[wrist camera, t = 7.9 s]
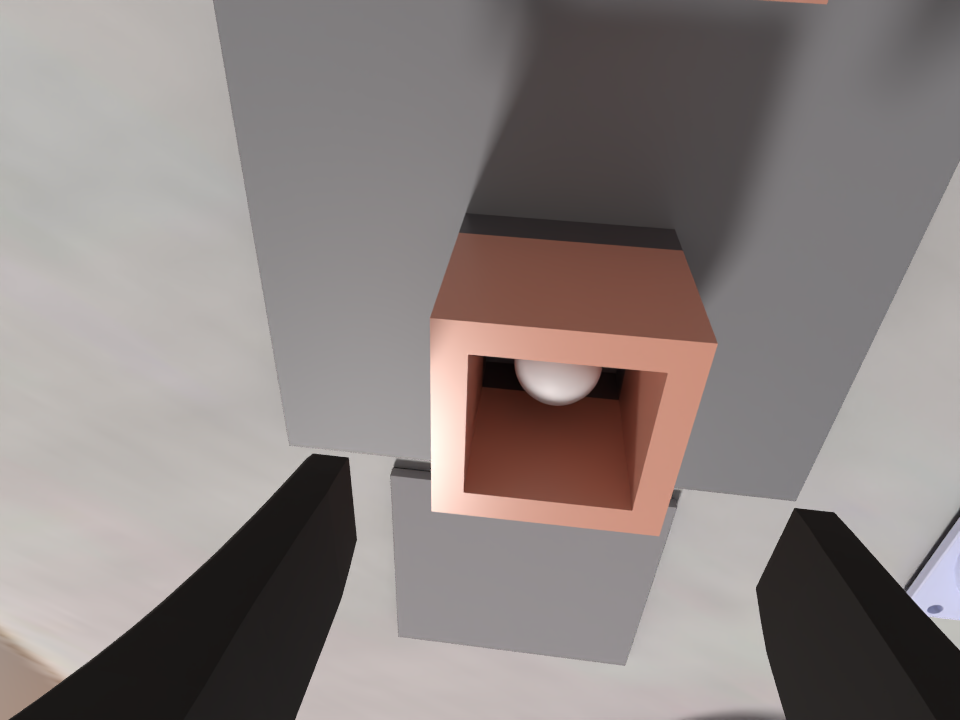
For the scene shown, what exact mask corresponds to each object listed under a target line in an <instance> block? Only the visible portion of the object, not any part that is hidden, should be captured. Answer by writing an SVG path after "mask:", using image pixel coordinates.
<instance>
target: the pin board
mask: <svg viewBox="0 0 960 720" xmlns="http://www.w3.org/2000/svg"><path fill="white" fill-rule="evenodd" d="M213 3H214V9H215V15H216V21H217V26H218V32H219V38H220V44H221V50H222V56H223V61H224V67H225V73H226V79H227V85H228V91H229V96H230V102H231V108H232V114H233V120H234V126H235V132H236V137H237V143H238V149H239V155H240V161H241V167H242V172H243V178H244V184H245V190H246V196H247V202H248V207H249V213H250V219H251V225H252V231H253V237H254V242H255V248H256V254H257V260H258V266H259V272H260V277H261V283H262V289H263V295H264V301H265V307H266V313H267V318H268V324H269V330H270V336H271V342H272V348H273V353H274V359H275V365H276V371H277V377H278V383H279V388H280V394H281V400H282V406H283V412H284V418H285V423H286V429H287V435H288V441H289V446H298V447H307V448H316V449H325V450H334V451H344V452H353V453H362V454H371V455H380V456H389V457H398V458H407V459H416V460H425V461H431V393H430V316H431V313H432V310H433V307H434V304H435V302H436V299H437V296H438V293H439V290H440V287H441V284H442V281H443V278H444V275H445V272H446V269H447V266H448V263H449V260H450V257H451V254H452V251H453V248H454V246H455V243H456V240H457V237H458V234H459V231H460V228H461V225H462V222H463V219H464V216H465V213H471V214H484V215H496V216H509V217H522V218H535V219H548V220H561V221H574V222H587V223H600V224H612V225H625V226H638V227H651V228H664V229H675V231H676V234H677V236H678V239H679V242H680V244H681V247H682V250H683V252H684V255H685V258H686V260H687V263H688V266H689V268H690V271H691V274H692V276H693V279H694V281H695V284H696V287H697V289H698V292H699V295H700V297H701V300H702V303H703V305H704V308H705V311H706V313H707V316H708V319H709V321H710V324H711V327H712V329H713V332H714V335H715V337H716V340H717V343H718V345H717V348H716V352H715V355H714V358H713V362H712V365H711V368H710V371H709V375H708V378H707V381H706V385H705V388H704V391H703V394H702V398H701V401H700V404H699V408H698V411H697V414H696V417H695V421H694V424H693V427H692V430H691V434H690V437H689V440H688V444H687V447H686V450H685V453H684V457H683V460H682V463H681V467H680V470H679V473H678V476H677V480H676V483H675V486H674V488H680V489H689V490H698V491H707V492H716V493H725V494H734V495H743V496H752V497H762V498H771V499H780V500H789V501H796V500H797V497H798V495H799V493H800V491H801V489H802V487H803V485H804V483H805V481H806V479H807V477H808V475H809V473H810V470H811V468H812V466H813V464H814V462H815V460H816V458H817V456H818V454H819V452H820V450H821V448H822V446H823V443H824V441H825V439H826V437H827V435H828V433H829V431H830V429H831V427H832V425H833V423H834V421H835V419H836V416H837V414H838V412H839V410H840V408H841V406H842V404H843V402H844V400H845V398H846V396H847V394H848V392H849V389H850V387H851V385H852V383H853V381H854V379H855V377H856V375H857V373H858V371H859V369H860V367H861V365H862V362H863V360H864V358H865V356H866V354H867V352H868V350H869V348H870V346H871V344H872V342H873V340H874V338H875V335H876V333H877V331H878V329H879V327H880V325H881V323H882V321H883V319H884V317H885V315H886V313H887V311H888V308H889V306H890V304H891V302H892V300H893V298H894V296H895V294H896V292H897V290H898V288H899V286H900V284H901V281H902V279H903V277H904V275H905V273H906V271H907V269H908V267H909V265H910V263H911V261H912V259H913V257H914V254H915V252H916V250H917V248H918V246H919V244H920V242H921V240H922V238H923V236H924V234H925V232H926V230H927V227H928V225H929V223H930V221H931V219H932V217H933V215H934V213H935V211H936V209H937V207H938V205H939V203H940V200H941V198H942V196H943V194H944V192H945V190H946V188H947V186H948V184H949V182H950V180H951V178H952V176H953V173H954V171H955V169H956V167H957V165H958V163H959V161H960V0H828V3H827V4H813V3H796V2H780V1H764V0H213ZM486 361H488V362H499V363H509V364H514V366H515V372H516V376H517V378H518V380H519V383H520V384H521V386H522V387H523V389H524V390H525V391H526V392H527V393H528V394H529V395H530V396H531V397H533V398H534V399H536V400H538V401H540V402H542V403H544V404H548V405H553V406H563V405H569V404H572V403H575V402H577V401H579V400H581V399H583V398H584V397H586V396H587V395H588V394H589V393H590V392H591V391H592V390H593V389H594V387H595V386H596V384H597V382H598V380H599V378H600V375H601V372H606V373H616V370H617V368H609V367H598V366H588V365H577V364H566V363H555V362H545V361H534V360H523V359H512V358H501V357H491V356H487V359H486Z"/></svg>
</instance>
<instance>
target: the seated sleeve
mask: <svg viewBox="0 0 960 720" xmlns="http://www.w3.org/2000/svg"><path fill="white" fill-rule="evenodd" d="M764 1H780V2H796V3H813V4H827V3H828V0H764Z"/></svg>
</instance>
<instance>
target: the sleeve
mask: <svg viewBox="0 0 960 720" xmlns="http://www.w3.org/2000/svg"><path fill="white" fill-rule="evenodd" d="M717 345H718V343H717V340H716V337H715V335H714V332H713V329H712V327H711V324H710V321H709V319H708V316H707V313H706V311H705V308H704V305H703V303H702V300H701V297H700V295H699V292H698V289H697V287H696V284H695V281H694V279H693V276H692V274H691V271H690V268H689V266H688V263H687V260H686V258H685V255H684V252H683V250H682V247H681V244H680V242H679V239H678V236H677V234H676V231H675V229H664V228H651V227H638V226H625V225H612V224H600V223H587V222H574V221H561V220H548V219H535V218H522V217H509V216H496V215H484V214H471V213H465V216H464V219H463V222H462V225H461V228H460V231H459V234H458V237H457V240H456V243H455V246H454V248H453V251H452V254H451V257H450V260H449V263H448V266H447V269H446V272H445V275H444V278H443V281H442V284H441V287H440V290H439V293H438V296H437V299H436V302H435V304H434V307H433V310H432V313H431V316H430V393H431V511H433V512H442V513H451V514H460V515H469V516H478V517H487V518H496V519H505V520H515V521H524V522H533V523H542V524H551V525H560V526H569V527H578V528H587V529H597V530H606V531H615V532H624V533H633V534H642V535H651V536H660V532H661V529H662V526H663V522H664V519H665V516H666V513H667V509H668V506H669V503H670V499H671V496H672V493H673V490H674V486H675V483H676V480H677V476H678V473H679V470H680V467H681V463H682V460H683V457H684V453H685V450H686V447H687V444H688V440H689V437H690V434H691V430H692V427H693V424H694V421H695V417H696V414H697V411H698V408H699V404H700V401H701V398H702V394H703V391H704V388H705V385H706V381H707V378H708V375H709V371H710V368H711V365H712V362H713V358H714V355H715V352H716V348H717ZM487 356H491V357H501V358H512V359H523V360H534V361H545V362H555V363H566V364H577V365H588V366H598V367H609V368H617V370H616V373H606V372H601V375H600V378H599V380H598V382H597V384H596V386H595V387H594V389H593V390H592V391H591V392H590V393H589V394H588V395H587V396H586V397H584V398H583V399H581V400H579V401H577V402H575V403H572V404H569V405H563V406H553V405H548V404H544V403H542V402H540V401H538V400H536V399H534V398H533V397H531V396H530V395H529V394H528V393H527V392H526V391H525V390H524V389H523V387H522V386H521V384H520V383H519V380H518V378H517V376H516V372H515V366H514V364H509V363H499V362H488V361H486V359H487Z"/></svg>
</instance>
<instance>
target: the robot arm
mask: <svg viewBox="0 0 960 720" xmlns="http://www.w3.org/2000/svg"><path fill="white" fill-rule="evenodd" d="M356 541H357V536H356V526H355V516H354V506H353V496H352V486H351V476H350V466H349V458H347V457H338V456H329V455H321V454H312V455H311V456H309V457H308V458H307V459H306V460H305V461H304V462H303V463H302V464H301V465H300V466H299V467H298V468H297V470H296V471H295V472H294V473H293V474H292V475H291V476H290V477H289V478H288V479H287V480H286V482H285V483H284V484H283V485H282V486H281V487H280V488H279V489H278V490H277V491H276V492H275V493H274V494H273V496H272V497H271V498H270V499H269V500H268V501H267V502H266V503H265V504H264V505H263V506H262V507H261V508H260V509H259V510H258V511H257V512H256V513H255V514H254V515H253V516H252V517H251V518H250V519H249V520H248V521H247V522H246V523H245V524H244V525H243V526H242V527H241V528H240V529H239V530H238V531H237V532H236V533H235V534H234V535H233V536H232V537H231V538H230V539H229V540H228V541H227V542H226V543H225V544H224V545H223V546H222V547H221V548H220V549H219V550H218V551H217V552H216V553H215V554H214V555H213V556H212V557H211V558H210V559H209V560H208V561H207V562H206V563H205V564H203V565H202V566H201V567H200V568H199V569H198V570H197V571H196V572H195V573H194V574H192V575H191V576H190V577H189V578H188V579H187V580H186V581H185V582H184V583H183V584H181V585H180V586H179V587H178V588H177V589H176V590H175V591H174V592H173V593H172V594H170V595H169V596H168V597H167V598H166V599H165V600H164V601H163V602H161V603H160V604H159V605H158V606H157V607H156V608H154V609H153V610H152V611H151V612H150V613H149V614H147V615H146V616H145V617H144V618H143V619H142V620H140V621H139V622H138V623H137V624H135V625H134V626H133V627H132V628H131V629H129V630H128V631H127V632H126V633H125V634H123V635H122V636H121V637H119V638H118V639H117V640H116V641H114V642H113V643H112V644H111V645H109V646H108V647H107V648H106V649H104V650H103V651H102V652H101V653H99V654H98V655H97V656H95V657H94V658H93V659H92V660H90V661H89V662H88V663H86V664H85V665H84V666H82V667H81V668H79V669H78V670H77V671H75V672H74V673H73V674H71V675H70V676H69V677H67V678H66V679H65V680H63V681H62V682H61V683H59V684H58V685H57V686H55V687H54V688H53V689H51V690H50V691H49V692H47V693H46V694H44V695H43V696H42V697H40V698H39V699H38V700H36V701H35V702H33V703H32V704H31V705H29V706H28V707H26V708H25V709H23V710H22V711H21V712H19V713H18V714H16V715H15V716H13V717H12V718H10V719H9V720H295V718H296V716H297V713H298V710H299V708H300V705H301V703H302V700H303V697H304V695H305V692H306V690H307V687H308V685H309V682H310V679H311V677H312V674H313V672H314V669H315V666H316V664H317V661H318V659H319V656H320V654H321V651H322V648H323V646H324V643H325V641H326V638H327V635H328V633H329V630H330V627H331V625H332V622H333V619H334V617H335V614H336V612H337V609H338V606H339V604H340V601H341V598H342V595H343V591H344V587H345V584H346V580H347V576H348V572H349V569H350V565H351V561H352V557H353V553H354V549H355V545H356ZM756 592H757V598H758V605H759V612H760V618H761V624H762V630H763V635H764V641H765V646H766V652H767V655H768V659H769V662H770V666H771V670H772V673H773V676H774V680H775V683H776V687H777V690H778V693H779V697H780V700H781V704H782V707H783V710H784V714H785V717H786V720H960V650H959V649H958V648H957V647H956V646H955V645H954V644H953V643H952V642H951V641H950V640H949V639H948V637H947V636H946V635H945V634H944V633H943V632H942V631H941V630H940V629H939V628H938V627H937V626H936V625H935V623H934V622H933V621H932V620H931V619H930V618H929V617H937V618H945V619H953V620H960V517H959V519H958V520H957V522H956V523H955V524H954V526H953V527H952V529H951V530H950V531H949V533H948V534H947V536H946V537H945V538H944V540H943V541H942V543H941V544H940V545H939V547H938V548H937V550H936V551H935V553H934V554H933V555H932V557H931V558H930V560H929V561H928V562H927V564H926V565H925V567H924V568H923V569H922V571H921V572H920V574H919V575H918V576H917V578H916V579H915V581H914V582H913V583H912V585H911V586H910V588H909V589H908V590H907V592H905V591H904V589H903V588H902V587H901V586H900V585H899V584H898V583H897V582H896V581H895V579H894V578H893V577H892V576H891V575H890V574H889V573H888V572H887V570H886V569H885V568H884V567H883V566H882V565H881V564H880V563H879V561H878V560H877V559H876V558H875V557H874V556H873V555H872V554H871V552H870V551H869V550H868V549H867V548H866V547H865V546H864V545H863V543H862V542H861V541H860V540H859V539H858V538H857V537H856V536H855V535H854V533H853V532H852V531H851V530H850V529H849V528H848V527H847V526H846V525H845V524H844V522H843V521H842V520H841V519H840V518H839V517H838V516H837V515H836V514H835V513H834V512H825V511H816V510H807V509H799V508H794V510H793V512H792V514H791V516H790V518H789V520H788V522H787V525H786V527H785V529H784V531H783V533H782V535H781V537H780V539H779V541H778V543H777V545H776V547H775V549H774V551H773V554H772V556H771V558H770V560H769V562H768V564H767V566H766V568H765V570H764V572H763V574H762V576H761V578H760V580H759V583H758V585H757V587H756Z"/></svg>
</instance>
